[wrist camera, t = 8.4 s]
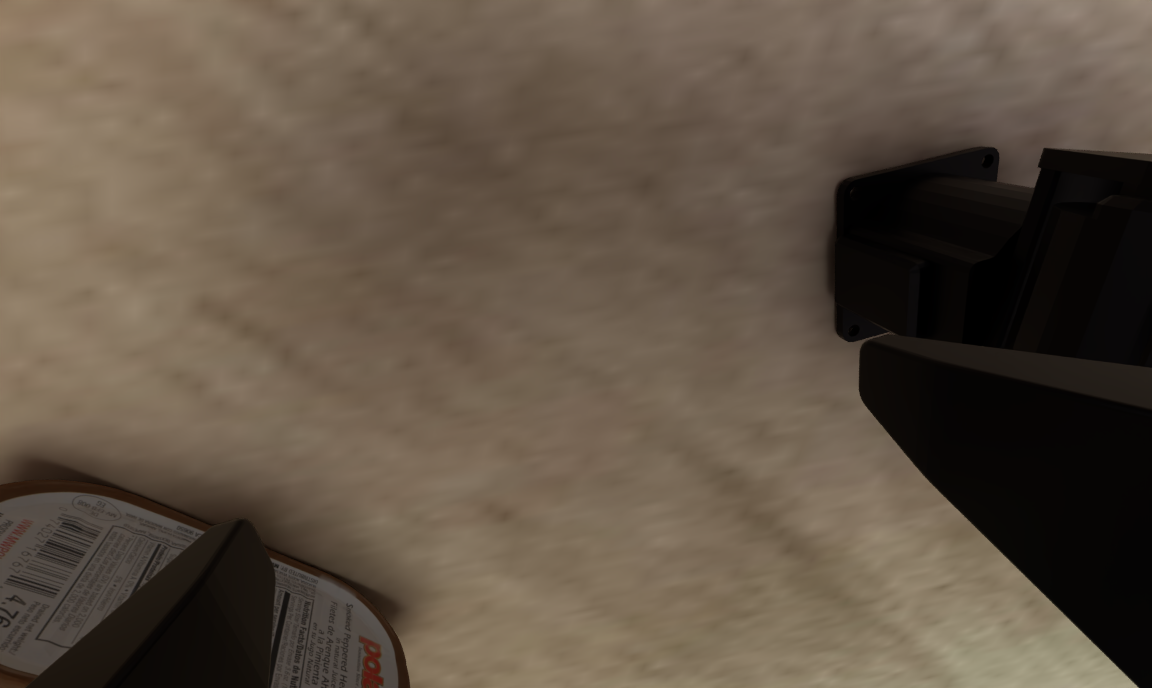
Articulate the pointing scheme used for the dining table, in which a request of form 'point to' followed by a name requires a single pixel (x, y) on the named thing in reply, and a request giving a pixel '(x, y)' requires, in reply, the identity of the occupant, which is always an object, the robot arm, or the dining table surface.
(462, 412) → the dining table surface
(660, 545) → the dining table surface
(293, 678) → the tin
